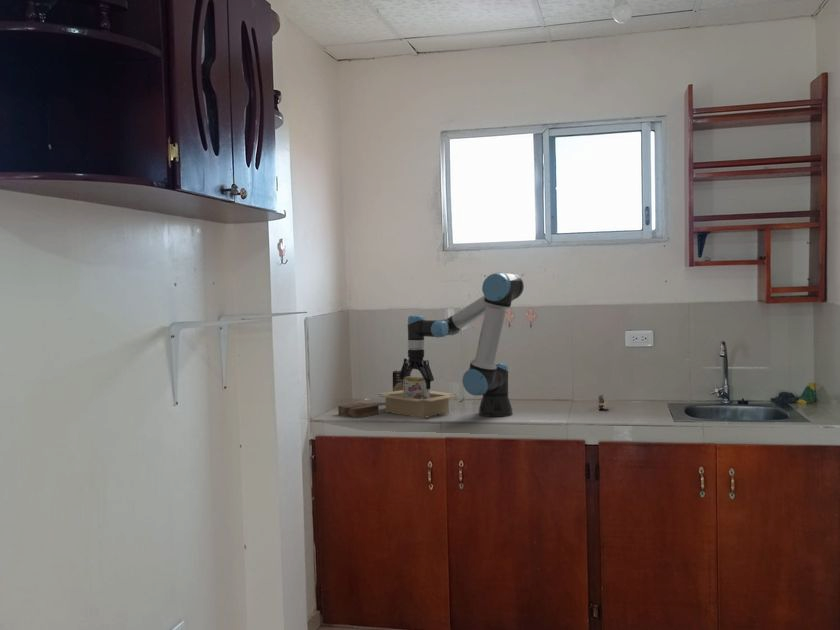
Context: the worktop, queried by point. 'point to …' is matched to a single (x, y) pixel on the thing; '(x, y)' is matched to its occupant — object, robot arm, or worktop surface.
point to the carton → (417, 403)
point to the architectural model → (601, 401)
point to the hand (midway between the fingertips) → (416, 394)
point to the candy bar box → (414, 387)
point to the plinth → (358, 410)
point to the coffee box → (397, 381)
